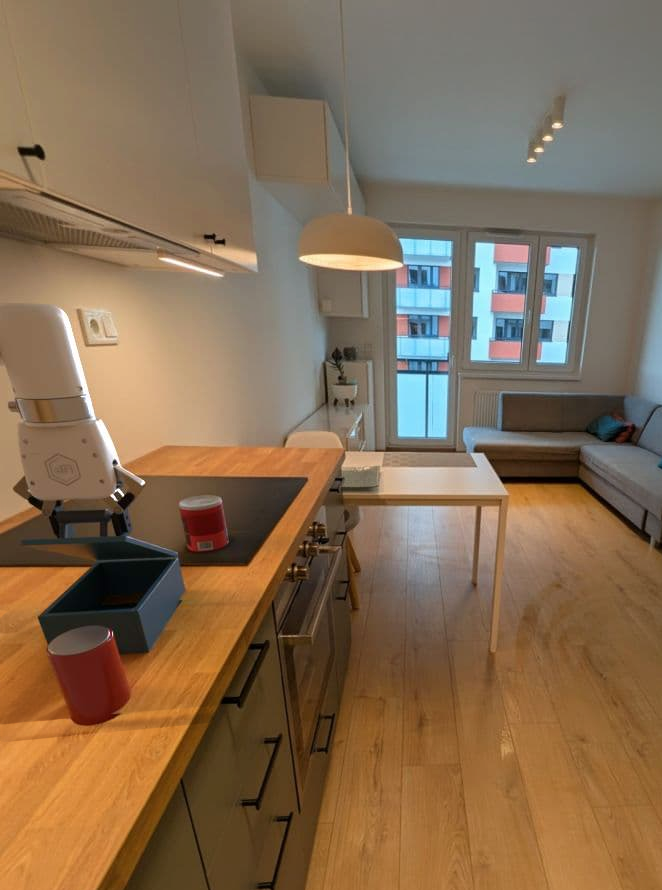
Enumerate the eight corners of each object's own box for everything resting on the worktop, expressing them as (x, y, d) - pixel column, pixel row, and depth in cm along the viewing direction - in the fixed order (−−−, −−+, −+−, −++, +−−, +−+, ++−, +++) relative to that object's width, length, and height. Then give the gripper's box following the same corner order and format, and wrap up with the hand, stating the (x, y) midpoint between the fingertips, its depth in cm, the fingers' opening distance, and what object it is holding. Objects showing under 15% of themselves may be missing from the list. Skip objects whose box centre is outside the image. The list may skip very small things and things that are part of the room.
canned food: (237, 547, 109) (229, 499, 104) (204, 561, 103) (194, 510, 98) (214, 539, 112) (205, 492, 108) (181, 552, 106) (170, 502, 101)
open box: (150, 656, 74) (137, 610, 71) (54, 663, 72) (37, 616, 69) (187, 596, 90) (178, 557, 86) (109, 601, 88) (97, 560, 84)
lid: (125, 541, 68) (125, 505, 69) (20, 545, 66) (21, 508, 67) (177, 557, 86) (177, 528, 87) (96, 560, 84) (97, 531, 85)
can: (59, 728, 61) (32, 658, 57) (86, 691, 67) (63, 626, 63) (119, 722, 62) (97, 653, 58) (140, 687, 68) (121, 622, 64)
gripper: (-40, 416, 60) (12, 552, 68) (118, 414, 63) (152, 546, 70) (0, 406, 67) (43, 531, 74) (142, 405, 70) (170, 526, 77)
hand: (96, 537), depth 72 cm, fingers open, 6 cm apart
